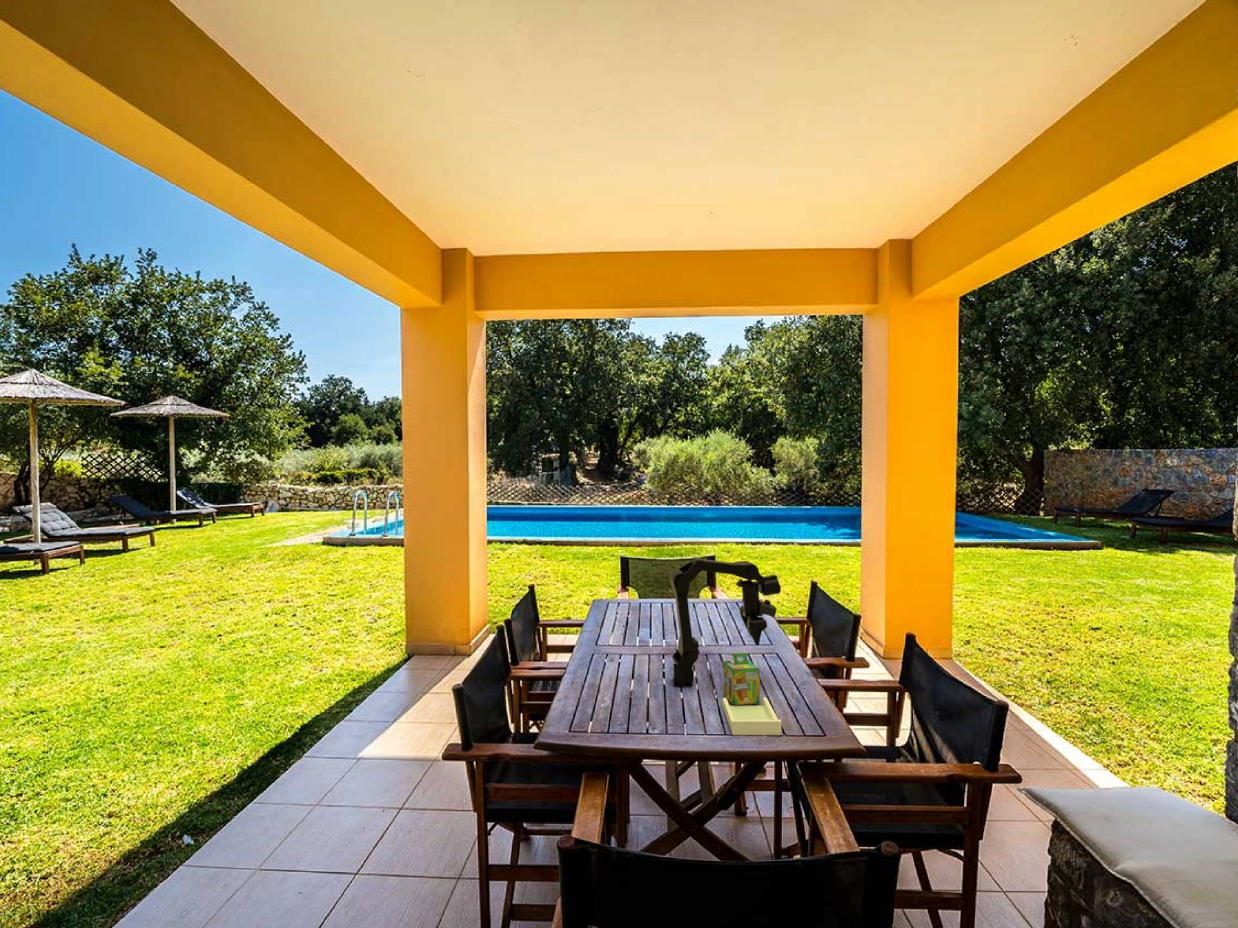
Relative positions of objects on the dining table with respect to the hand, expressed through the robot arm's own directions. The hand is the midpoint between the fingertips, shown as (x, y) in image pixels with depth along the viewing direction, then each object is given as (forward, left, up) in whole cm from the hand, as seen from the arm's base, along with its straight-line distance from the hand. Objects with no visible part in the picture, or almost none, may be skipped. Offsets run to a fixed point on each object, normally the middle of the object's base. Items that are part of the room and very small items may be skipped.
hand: (754, 640), depth 210 cm
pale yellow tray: (-8, -31, -14) cm, 35 cm away
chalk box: (-8, -18, -14) cm, 24 cm away
